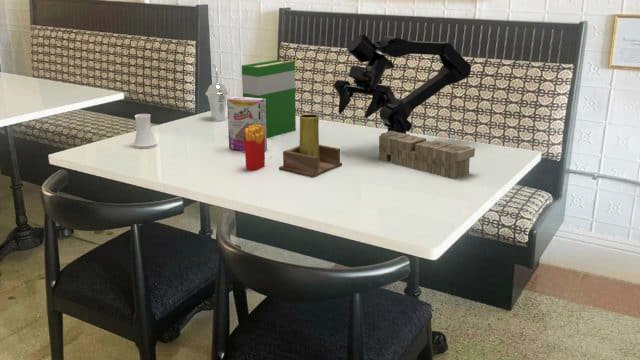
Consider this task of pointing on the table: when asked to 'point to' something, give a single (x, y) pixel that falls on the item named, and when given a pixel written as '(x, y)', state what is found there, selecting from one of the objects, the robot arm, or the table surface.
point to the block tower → (425, 154)
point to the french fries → (254, 147)
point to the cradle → (311, 161)
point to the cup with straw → (217, 99)
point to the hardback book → (273, 93)
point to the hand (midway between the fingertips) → (352, 115)
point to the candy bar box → (244, 119)
